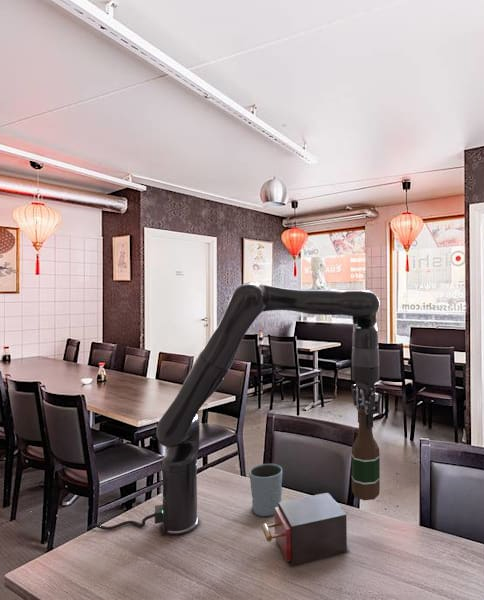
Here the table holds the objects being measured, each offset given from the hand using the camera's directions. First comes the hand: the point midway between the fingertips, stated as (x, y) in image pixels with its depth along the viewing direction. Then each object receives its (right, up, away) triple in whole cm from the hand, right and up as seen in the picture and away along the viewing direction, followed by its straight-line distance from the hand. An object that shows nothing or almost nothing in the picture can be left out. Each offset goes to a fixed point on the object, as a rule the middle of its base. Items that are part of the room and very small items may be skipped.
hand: (365, 425), depth 114 cm
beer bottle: (0, -19, 0) cm, 19 cm away
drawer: (-18, -29, -7) cm, 35 cm away
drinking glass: (-29, -30, +13) cm, 44 cm away
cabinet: (-15, -30, -5) cm, 34 cm away
